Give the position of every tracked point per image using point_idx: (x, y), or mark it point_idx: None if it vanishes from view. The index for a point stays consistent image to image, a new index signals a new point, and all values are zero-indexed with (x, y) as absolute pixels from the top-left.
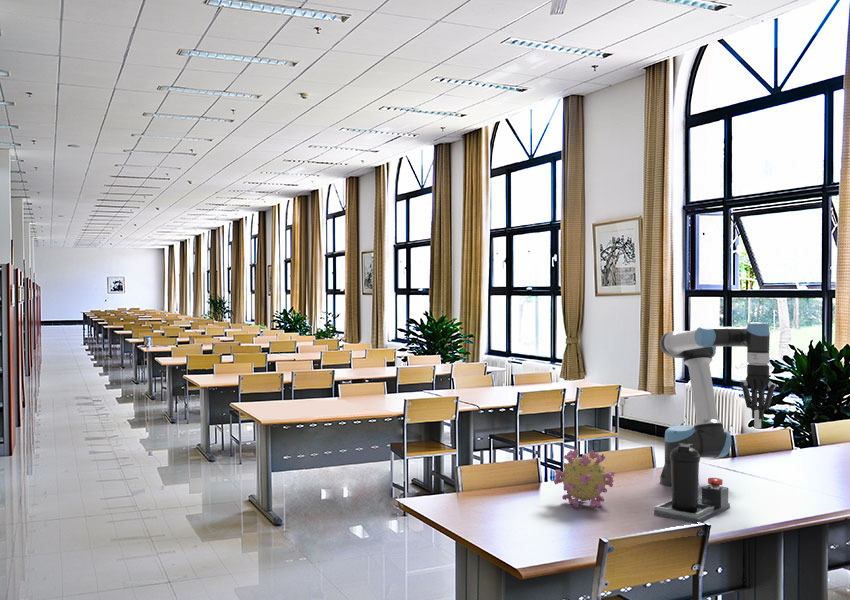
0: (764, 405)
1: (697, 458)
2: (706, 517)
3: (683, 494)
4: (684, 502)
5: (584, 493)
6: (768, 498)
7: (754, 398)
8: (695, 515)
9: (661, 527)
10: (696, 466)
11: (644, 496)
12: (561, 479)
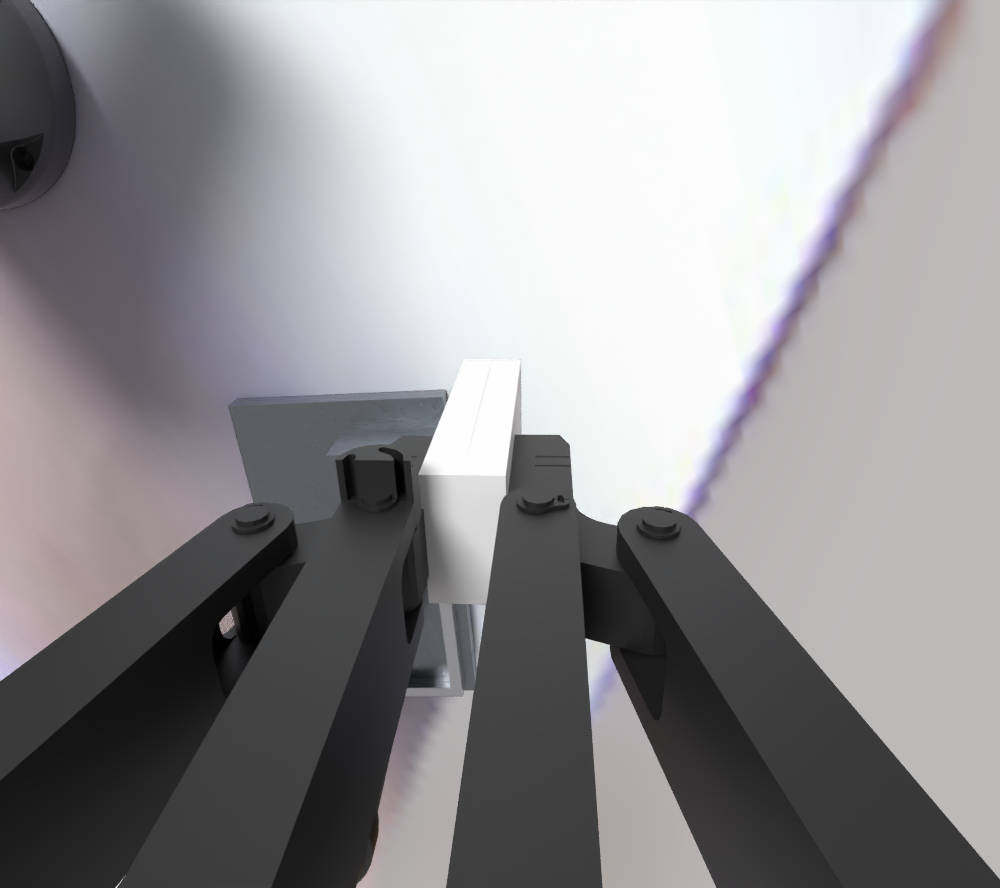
0: (637, 689)
1: (374, 845)
2: (470, 625)
3: None
4: None
5: None
6: (507, 11)
7: (366, 819)
8: (459, 693)
9: (415, 773)
10: (379, 800)
11: (96, 488)
12: None
